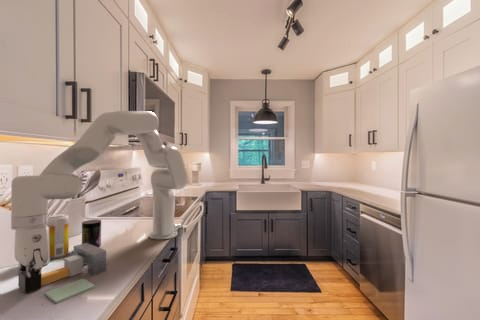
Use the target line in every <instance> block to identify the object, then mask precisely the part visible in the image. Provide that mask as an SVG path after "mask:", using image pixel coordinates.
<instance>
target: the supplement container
mask: <svg viewBox="0 0 480 320" xmlns="http://www.w3.org/2000/svg"><path fill="white" fill-rule="evenodd" d="M84 243H89V244H91V245H94V246H96V247H99V248H101V245H102V220H101V219H89V220H84V221H82V222H81V244H84Z"/></svg>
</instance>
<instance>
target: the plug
mask: <svg viewBox="0 0 480 320" xmlns="http://www.w3.org/2000/svg"><path fill="white" fill-rule="evenodd" d="M63 260H64V261H63V267H61V268H57V269H55V270H51V271H48V272H46V273H43V274H42V273H41V287H42V286H45V285H47V284H50V283H52V282H55V281H56V282H57V281H59V280H61V279H64V278H68V277H70V278H71V277H73V276H77V275H79V274H81V273H83V272H84V265H83V257H81V256H79V255H74V254H73V255H71V256H68V257H64V259H63ZM31 270H32V268H31V269H30V271H31ZM26 277H27V272H26V270H25V271H21V272H19V271H18V289H19V291H21V292H23V293H24V294H27V293H26V292H25V278H26Z"/></svg>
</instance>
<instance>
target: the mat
mask: <svg viewBox="0 0 480 320" xmlns="http://www.w3.org/2000/svg"><path fill="white" fill-rule="evenodd" d="M94 288H96V285H95V284H94V283H92V282H89V281H88V280H86V279H85V278H81V279H78V280H75V281H73V282H70V283H68V284H67V283H66V284H65V285H61V286H60V287H57V288H54V289H51V290H49V291H46V292H45V293H44V295H45V296H46V295H47V296H48V297H47V296H46V297H47V298H49V299H50V300H51V299H52V300H53V302H54V303H55V304H59V303H61V302H63V301H65V300H68V299H70V298H73V297H75V296H77V295H80V294H83V293H85V292H87V291H89V289H90V290H91V289H94ZM84 291H85V292H84ZM82 292H83V293H82ZM52 300H51V301H52Z"/></svg>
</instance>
